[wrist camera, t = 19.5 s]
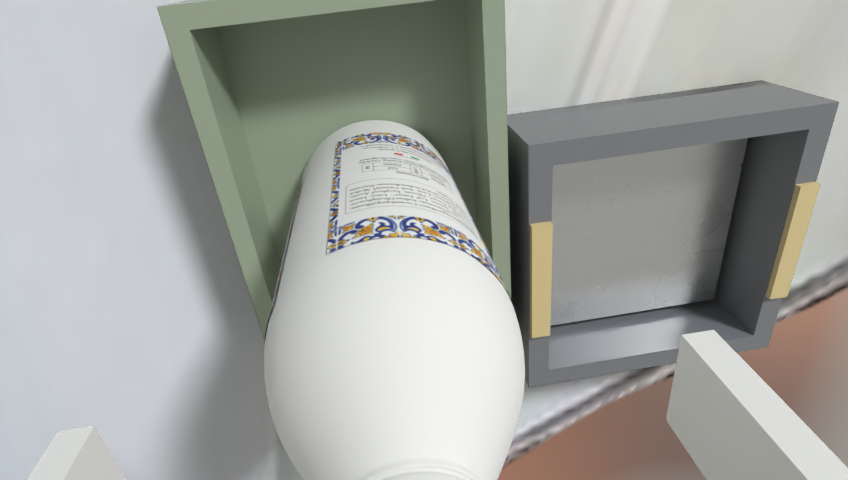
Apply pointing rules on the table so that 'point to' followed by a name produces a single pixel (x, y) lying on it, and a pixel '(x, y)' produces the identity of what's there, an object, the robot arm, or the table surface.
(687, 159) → the plate
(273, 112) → the green tray
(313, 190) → the bath foam
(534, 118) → the gray square tray
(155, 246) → the table surface
